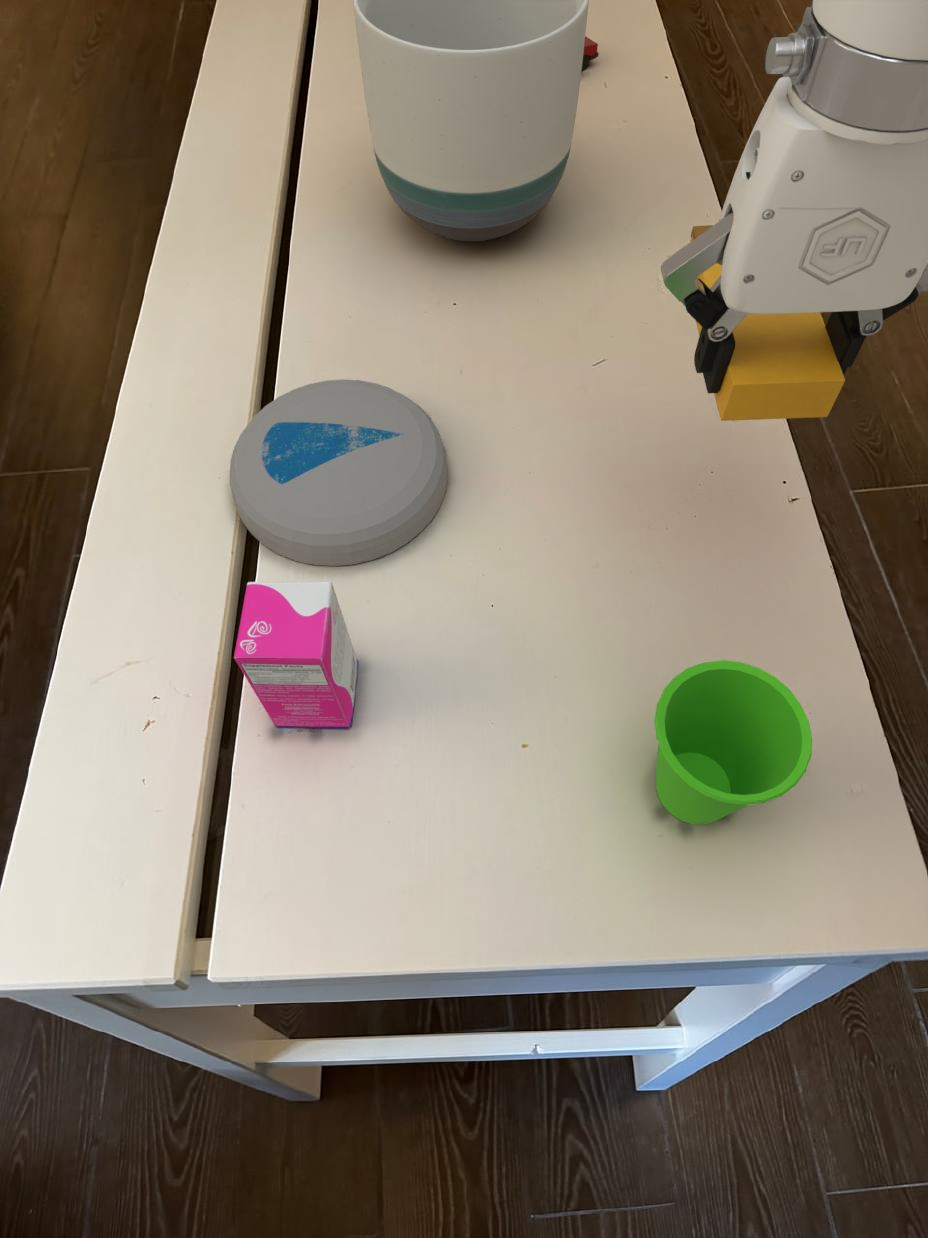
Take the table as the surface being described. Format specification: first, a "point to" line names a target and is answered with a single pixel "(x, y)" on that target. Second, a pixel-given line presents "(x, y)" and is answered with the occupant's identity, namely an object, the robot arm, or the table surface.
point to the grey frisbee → (338, 472)
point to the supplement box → (298, 654)
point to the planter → (471, 106)
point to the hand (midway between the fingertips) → (767, 373)
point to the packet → (777, 364)
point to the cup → (727, 741)
